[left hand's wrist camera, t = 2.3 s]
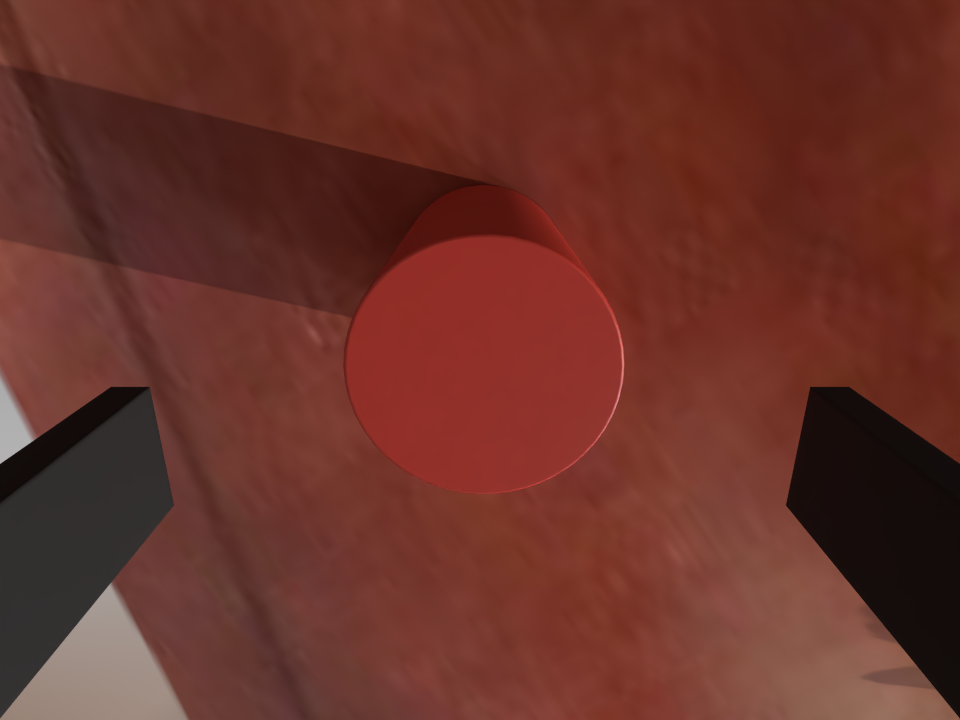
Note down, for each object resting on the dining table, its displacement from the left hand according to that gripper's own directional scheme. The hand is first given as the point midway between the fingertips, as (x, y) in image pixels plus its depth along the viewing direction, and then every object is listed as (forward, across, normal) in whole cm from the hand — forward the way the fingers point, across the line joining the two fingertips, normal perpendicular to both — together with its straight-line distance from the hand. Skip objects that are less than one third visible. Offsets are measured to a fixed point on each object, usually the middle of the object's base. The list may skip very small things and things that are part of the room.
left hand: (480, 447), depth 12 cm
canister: (+15, 0, 0) cm, 15 cm away
